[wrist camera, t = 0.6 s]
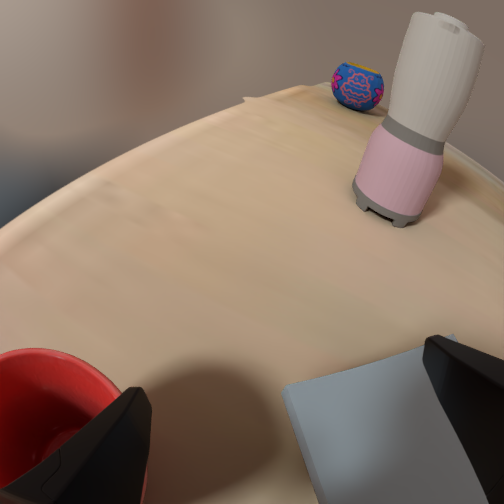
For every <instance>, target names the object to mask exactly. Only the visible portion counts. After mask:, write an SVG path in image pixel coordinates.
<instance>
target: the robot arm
mask: <svg viewBox="0 0 504 504" xmlns="http://www.w3.org/2000/svg"><path fill="white" fill-rule="evenodd" d="M422 361H423V365H424V367H425V370H426V372H427V374H428V377H429V379H430V381H431V384H432V386H433V389H434V391H435V394H436V396H437V398H438V400H439V402H440V404H441V406H442V408H443V410H444V412H445V414H446V415H447V417H448V419H449V421H450V423H451V425H452V427H453V429H454V431H455V433H456V434H457V436H458V438H459V440H460V442H461V444H462V446H463V448H464V450H465V452H466V454H467V457H468V459H469V461H470V463H471V465H472V467H473V469H474V471H475V473H476V476H477V478H478V480H479V482H480V484H481V487H482V489H483V491H484V493H485V496H486V498H487V501H488V503H489V504H504V360H502V359H499V358H496V357H494V356H491V355H489V354H486V353H484V352H481V351H478V350H476V349H473V348H471V347H468V346H466V345H463V344H461V343H458V342H455V341H453V340H450V339H448V338H445V337H443V336H440V335H433V336H430V337H428V338H426V340H425V344H424V351H423V357H422ZM151 417H152V407H151V404H150V402H149V400H148V398H147V396H146V394H145V392H144V390H143V389H142V388H141V387H129V388H128V389H126V390H125V391H124V392H123V393H122V394H121V395H120V396H118V397H117V398H116V399H115V400H114V401H113V402H112V403H110V404H109V405H108V406H107V407H106V408H105V409H104V410H102V411H101V412H100V413H99V414H98V415H97V416H95V417H94V418H93V419H92V420H91V421H90V422H88V423H87V424H86V425H85V426H84V427H83V428H81V429H80V430H79V431H78V432H77V433H76V434H74V435H73V436H72V437H71V438H70V439H69V440H67V441H66V442H65V443H64V444H63V445H62V446H60V448H58V449H57V450H56V451H54V452H53V453H52V454H51V455H50V456H48V457H47V458H46V459H45V460H43V461H42V462H41V463H39V464H38V465H37V466H35V467H34V468H32V469H31V470H30V471H28V472H27V473H25V474H24V475H22V476H21V477H19V478H18V479H16V480H15V481H13V482H12V483H10V484H9V485H7V486H5V487H3V488H1V489H0V504H140V503H141V497H142V490H143V484H144V478H145V472H146V466H147V461H148V455H149V447H150V431H151Z"/></svg>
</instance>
